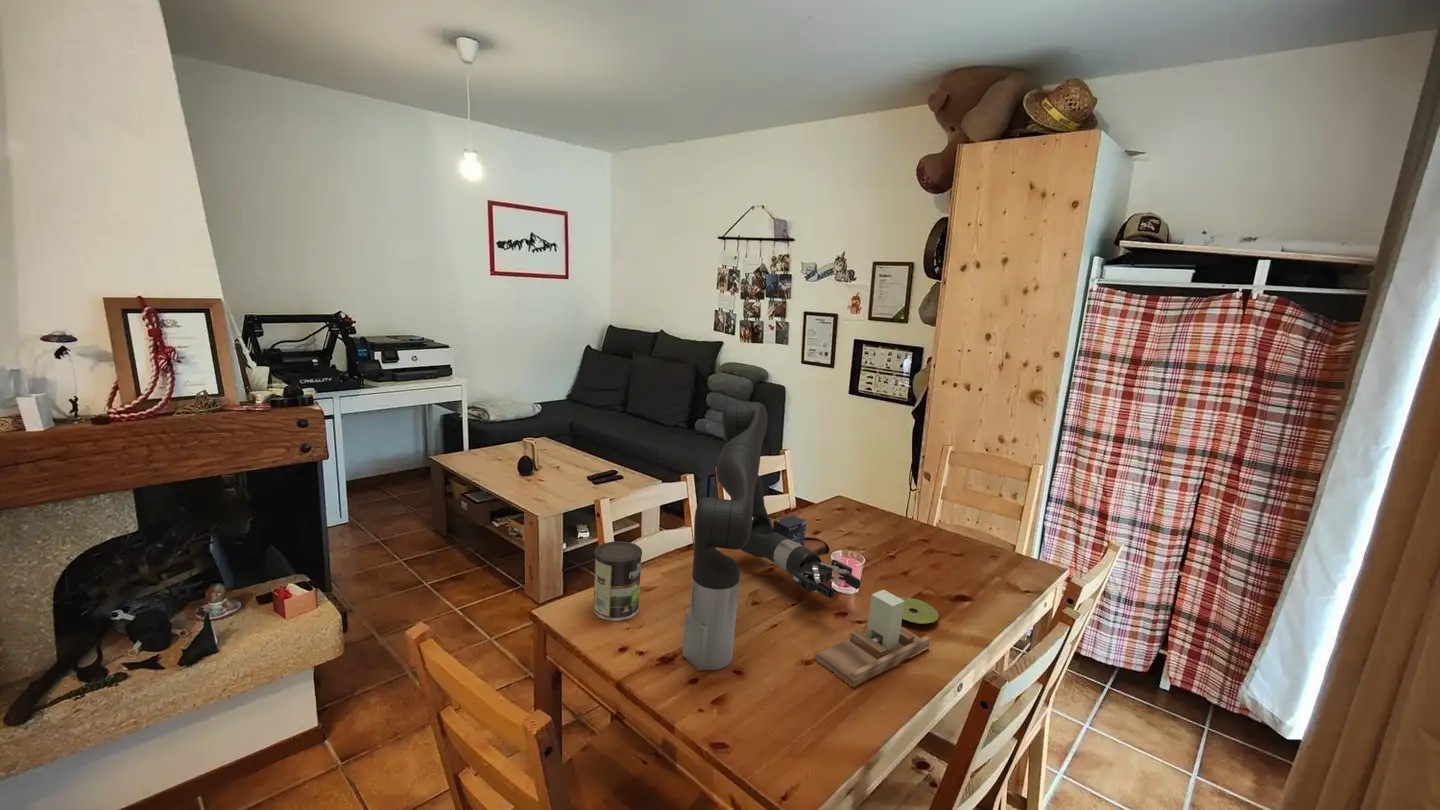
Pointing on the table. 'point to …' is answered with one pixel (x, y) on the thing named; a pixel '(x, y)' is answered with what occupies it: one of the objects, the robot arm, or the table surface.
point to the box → (791, 528)
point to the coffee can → (617, 580)
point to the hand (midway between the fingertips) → (846, 589)
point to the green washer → (918, 611)
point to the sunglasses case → (815, 544)
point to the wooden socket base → (868, 655)
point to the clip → (885, 618)
